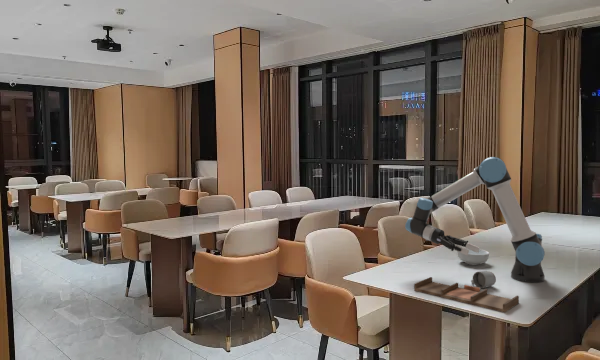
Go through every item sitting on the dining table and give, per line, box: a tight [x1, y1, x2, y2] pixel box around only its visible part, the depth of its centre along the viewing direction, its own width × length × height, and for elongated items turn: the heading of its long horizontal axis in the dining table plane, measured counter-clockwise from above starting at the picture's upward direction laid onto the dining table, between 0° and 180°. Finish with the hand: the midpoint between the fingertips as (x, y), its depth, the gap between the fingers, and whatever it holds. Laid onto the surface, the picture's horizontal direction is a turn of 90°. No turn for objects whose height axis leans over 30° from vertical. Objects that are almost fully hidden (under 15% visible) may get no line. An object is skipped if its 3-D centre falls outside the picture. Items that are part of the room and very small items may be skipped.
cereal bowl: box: [456, 248, 490, 266], centre depth 257 cm, size 17×17×7 cm
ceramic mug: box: [470, 270, 497, 289], centre depth 214 cm, size 11×8×8 cm
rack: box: [413, 277, 520, 313], centre depth 199 cm, size 41×16×3 cm, turn 45°
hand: (473, 251), depth 216 cm, fingers open, 13 cm apart
